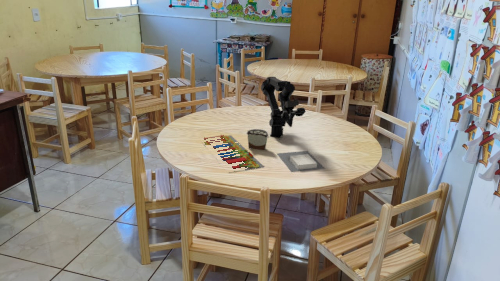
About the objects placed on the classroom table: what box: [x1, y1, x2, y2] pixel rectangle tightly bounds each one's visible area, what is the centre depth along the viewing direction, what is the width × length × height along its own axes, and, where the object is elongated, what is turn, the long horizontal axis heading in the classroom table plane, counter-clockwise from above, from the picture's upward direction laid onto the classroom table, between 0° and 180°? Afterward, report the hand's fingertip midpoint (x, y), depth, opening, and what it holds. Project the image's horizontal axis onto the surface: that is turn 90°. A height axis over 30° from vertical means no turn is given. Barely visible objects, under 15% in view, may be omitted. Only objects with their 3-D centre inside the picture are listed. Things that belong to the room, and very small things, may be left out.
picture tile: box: [290, 154, 317, 170], centre depth 183 cm, size 3×10×11 cm
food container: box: [246, 128, 269, 151], centre depth 199 cm, size 12×6×10 cm, turn 71°
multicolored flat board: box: [203, 134, 265, 171], centre depth 194 cm, size 45×2×19 cm
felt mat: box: [276, 150, 326, 173], centre depth 187 cm, size 22×18×1 cm
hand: (291, 126), depth 195 cm, fingers closed
